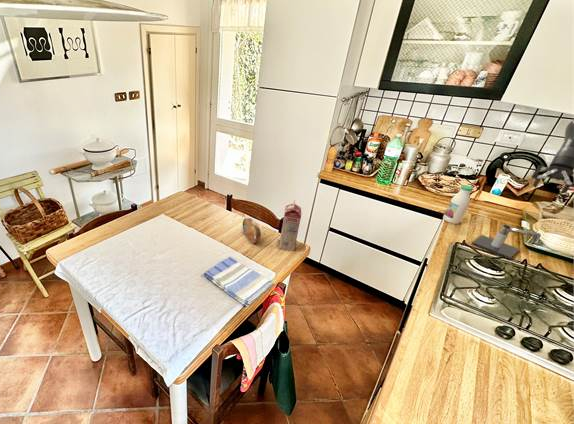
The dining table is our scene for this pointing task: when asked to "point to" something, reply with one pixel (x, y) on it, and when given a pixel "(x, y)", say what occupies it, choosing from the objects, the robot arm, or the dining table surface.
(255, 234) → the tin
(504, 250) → the faucet base
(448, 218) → the milk bottle
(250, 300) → the dish towel
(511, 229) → the spout
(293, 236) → the juice carton
